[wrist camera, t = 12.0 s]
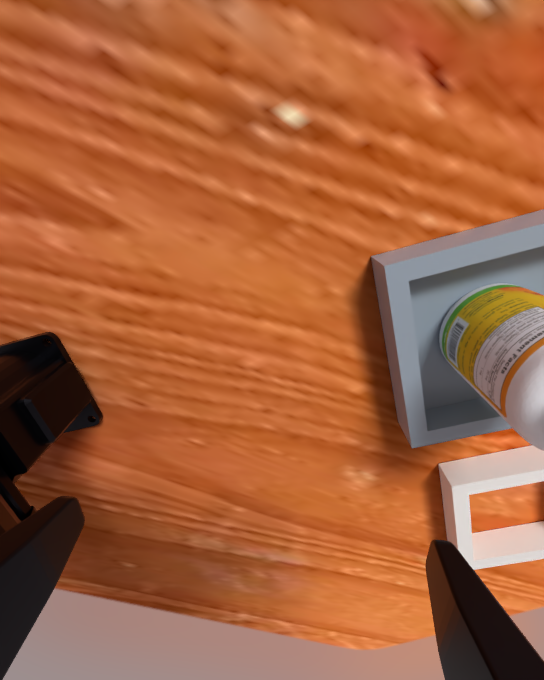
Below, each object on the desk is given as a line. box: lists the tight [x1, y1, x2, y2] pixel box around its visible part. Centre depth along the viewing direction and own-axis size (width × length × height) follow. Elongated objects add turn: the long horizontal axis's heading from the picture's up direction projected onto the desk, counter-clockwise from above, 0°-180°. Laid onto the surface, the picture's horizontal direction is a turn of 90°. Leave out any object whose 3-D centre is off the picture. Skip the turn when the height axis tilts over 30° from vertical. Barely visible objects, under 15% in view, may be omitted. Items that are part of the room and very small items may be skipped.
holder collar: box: [438, 445, 544, 570], centre depth 24 cm, size 9×9×2 cm
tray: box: [371, 209, 544, 448], centre depth 19 cm, size 11×11×2 cm
